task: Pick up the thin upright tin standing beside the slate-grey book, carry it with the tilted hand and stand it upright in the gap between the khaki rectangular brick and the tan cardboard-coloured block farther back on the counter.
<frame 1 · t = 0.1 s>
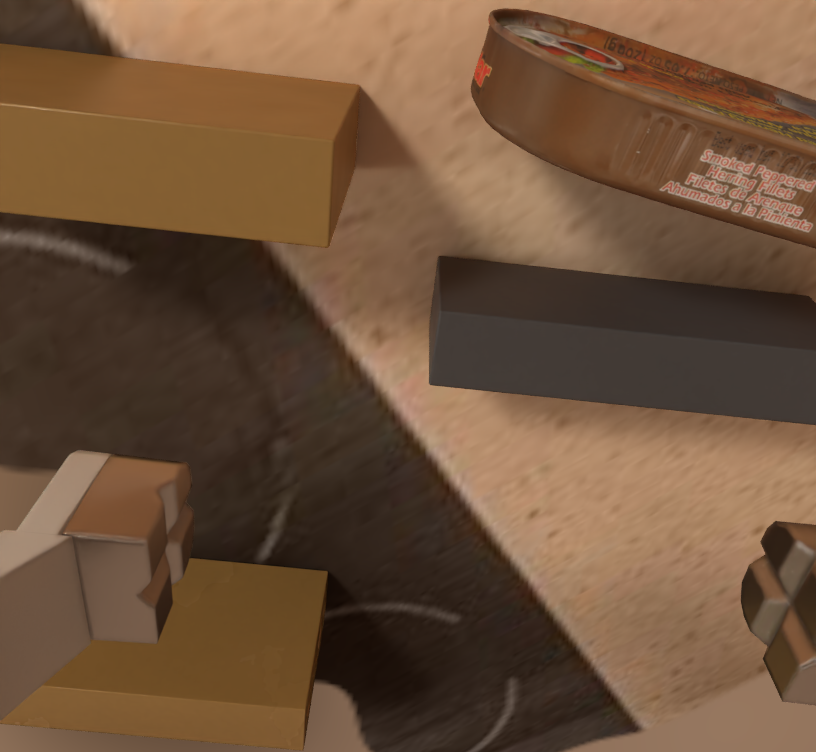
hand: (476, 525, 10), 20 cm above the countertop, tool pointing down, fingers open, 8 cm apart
tan cardboard-coloured block: (194, 578, 39), on the countertop
tin: (671, 104, 26), on the countertop
khaki rectangular brick: (163, 106, 26), on the countertop
grey book: (615, 309, 30), on the countertop
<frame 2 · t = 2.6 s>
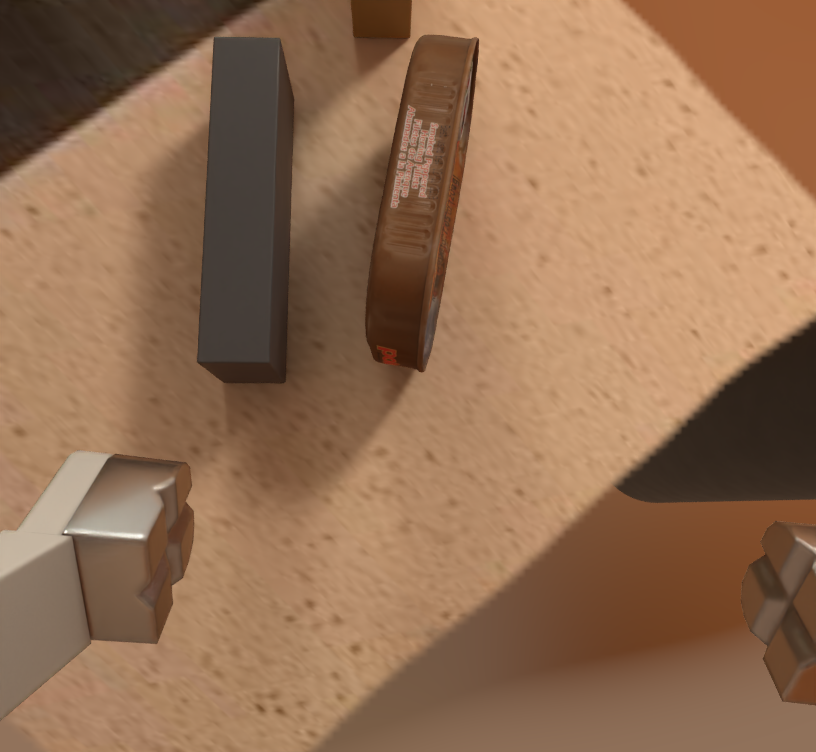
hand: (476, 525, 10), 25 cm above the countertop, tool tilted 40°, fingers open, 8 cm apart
tin: (420, 238, 37), on the countertop
grey book: (260, 235, 37), on the countertop
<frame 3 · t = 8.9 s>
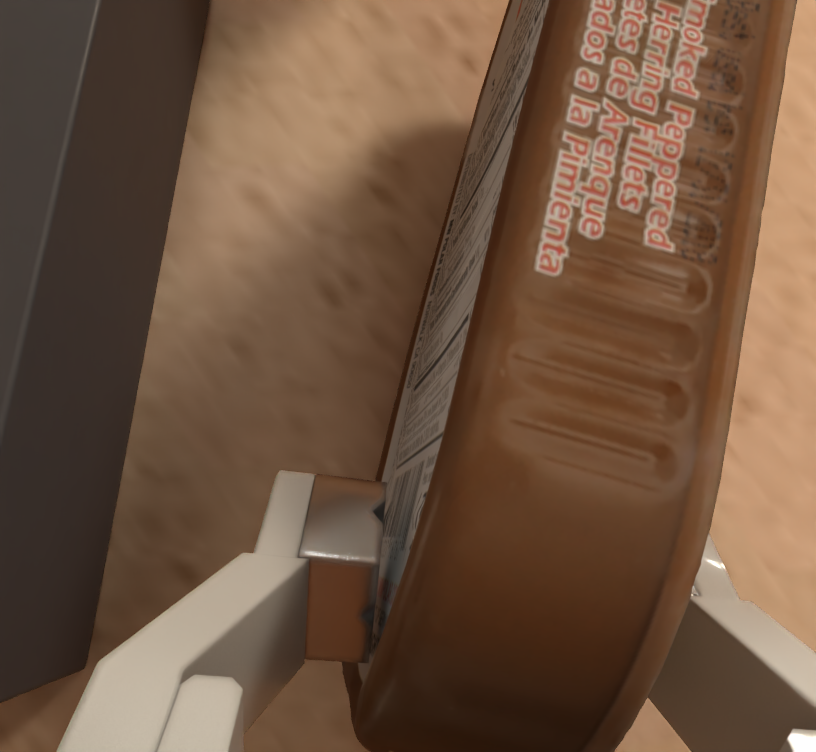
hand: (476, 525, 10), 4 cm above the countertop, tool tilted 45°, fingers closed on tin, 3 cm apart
tin: (462, 324, 16), on the countertop, touching gripper
grey book: (85, 284, 15), on the countertop
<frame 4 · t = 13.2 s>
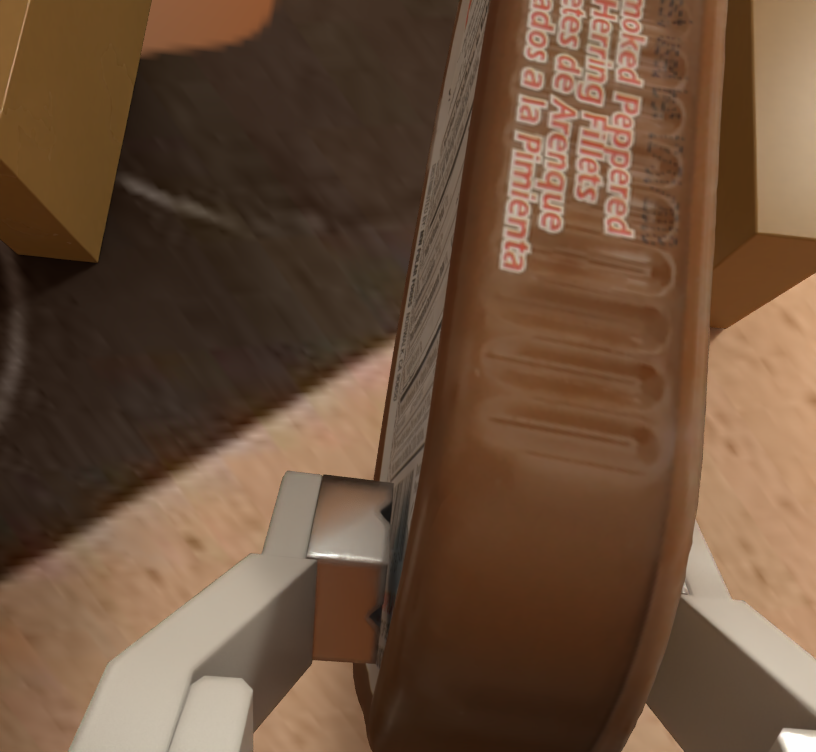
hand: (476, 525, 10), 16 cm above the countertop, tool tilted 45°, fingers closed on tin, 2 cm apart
tan cardboard-coloured block: (93, 95, 29), on the countertop
tin: (443, 333, 16), point 11 cm above the countertop, touching gripper
khaki rectangular brick: (688, 161, 30), on the countertop
when the fingers open (4 cm above the countertop, at t = 18.1 s): tin stays where it is, on the countertop.
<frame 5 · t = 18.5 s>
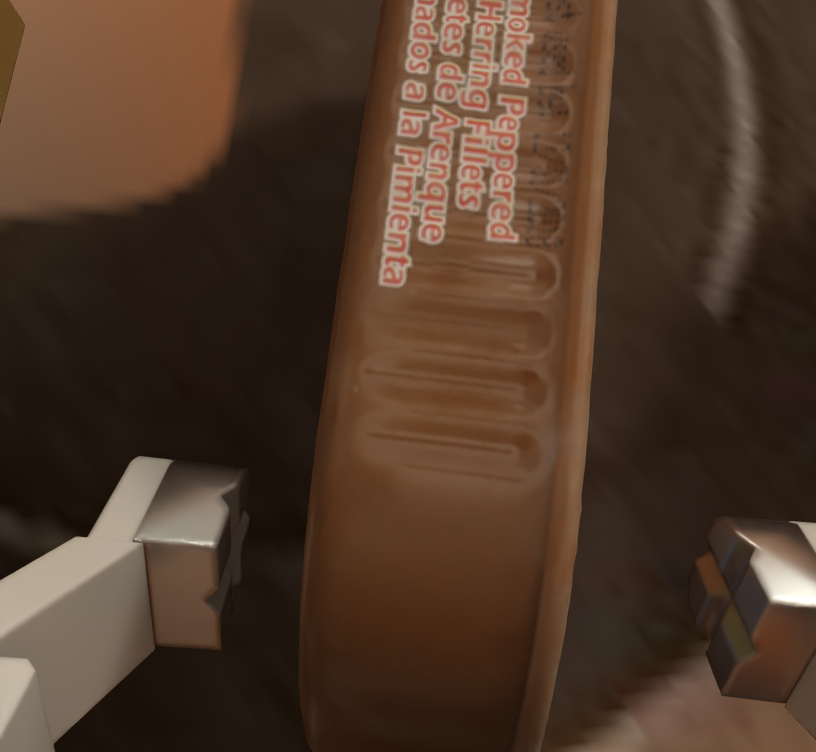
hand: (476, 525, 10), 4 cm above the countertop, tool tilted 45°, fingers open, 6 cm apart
tin: (439, 335, 16), on the countertop
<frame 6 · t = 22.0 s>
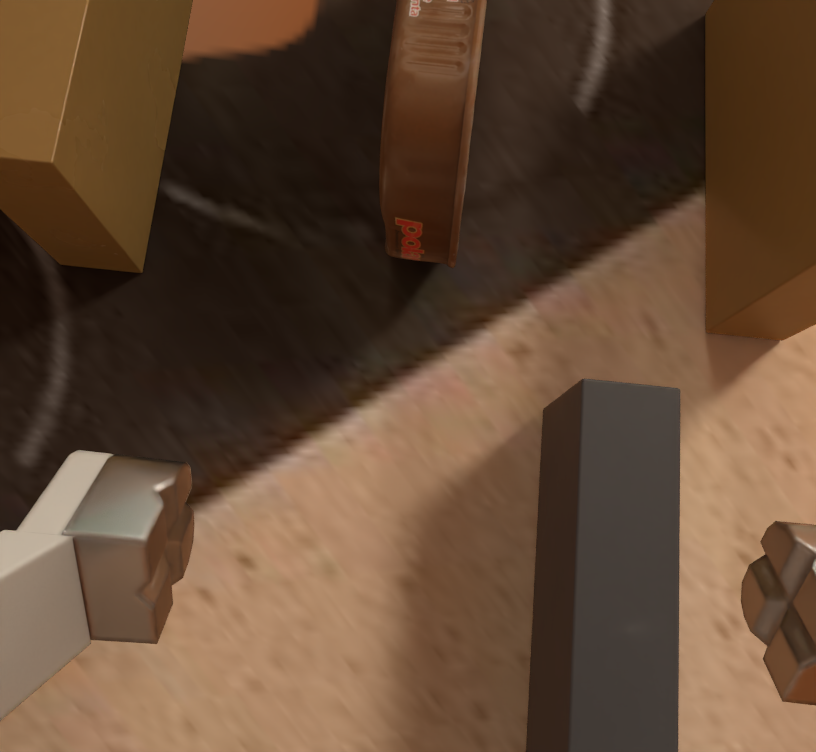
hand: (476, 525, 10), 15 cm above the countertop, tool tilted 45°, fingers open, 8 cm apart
tan cardboard-coloured block: (135, 100, 29), on the countertop
tin: (432, 120, 29), on the countertop
khaki rectangular brick: (741, 169, 29), on the countertop
grey book: (575, 629, 25), on the countertop
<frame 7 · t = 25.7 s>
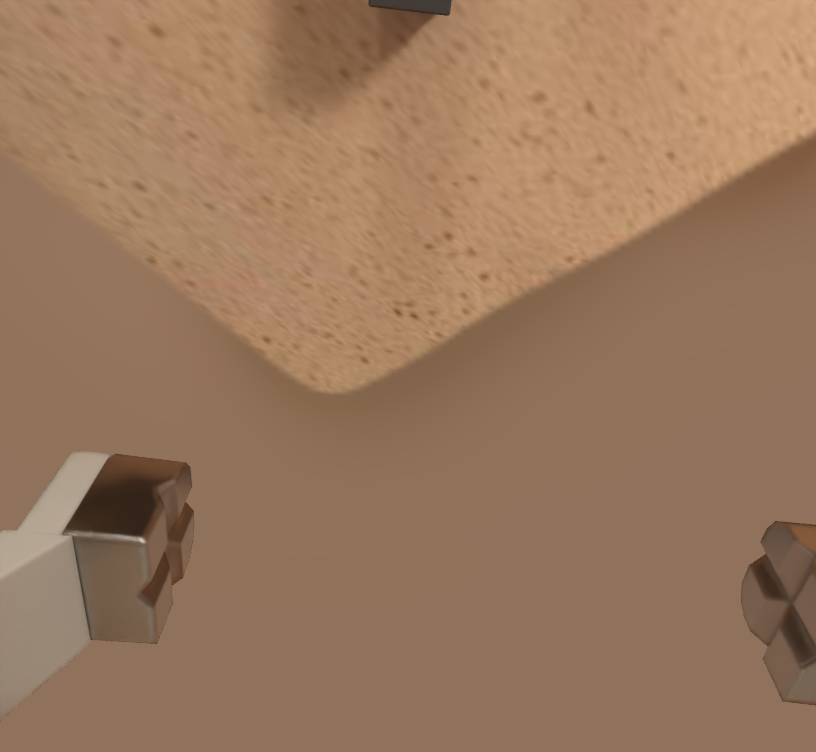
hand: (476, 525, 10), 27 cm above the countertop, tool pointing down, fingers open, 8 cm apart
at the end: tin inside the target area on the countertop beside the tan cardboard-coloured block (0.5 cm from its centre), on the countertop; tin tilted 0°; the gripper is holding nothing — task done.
